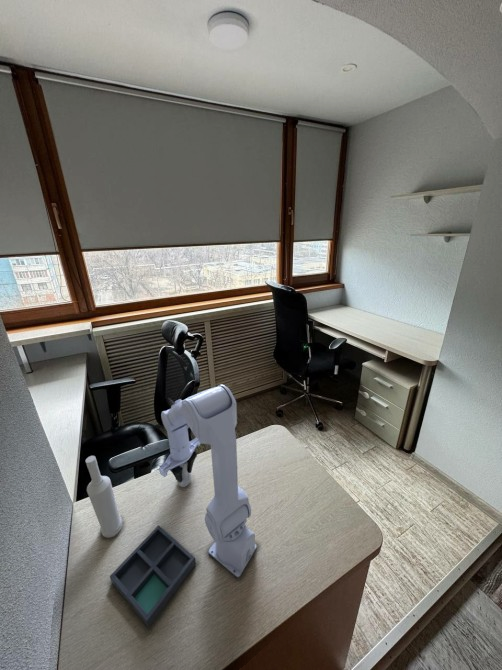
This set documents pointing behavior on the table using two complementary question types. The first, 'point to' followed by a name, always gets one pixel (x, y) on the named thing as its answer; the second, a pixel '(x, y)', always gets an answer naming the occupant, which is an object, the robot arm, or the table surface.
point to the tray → (153, 574)
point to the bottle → (103, 500)
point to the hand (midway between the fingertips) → (183, 475)
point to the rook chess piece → (185, 475)
